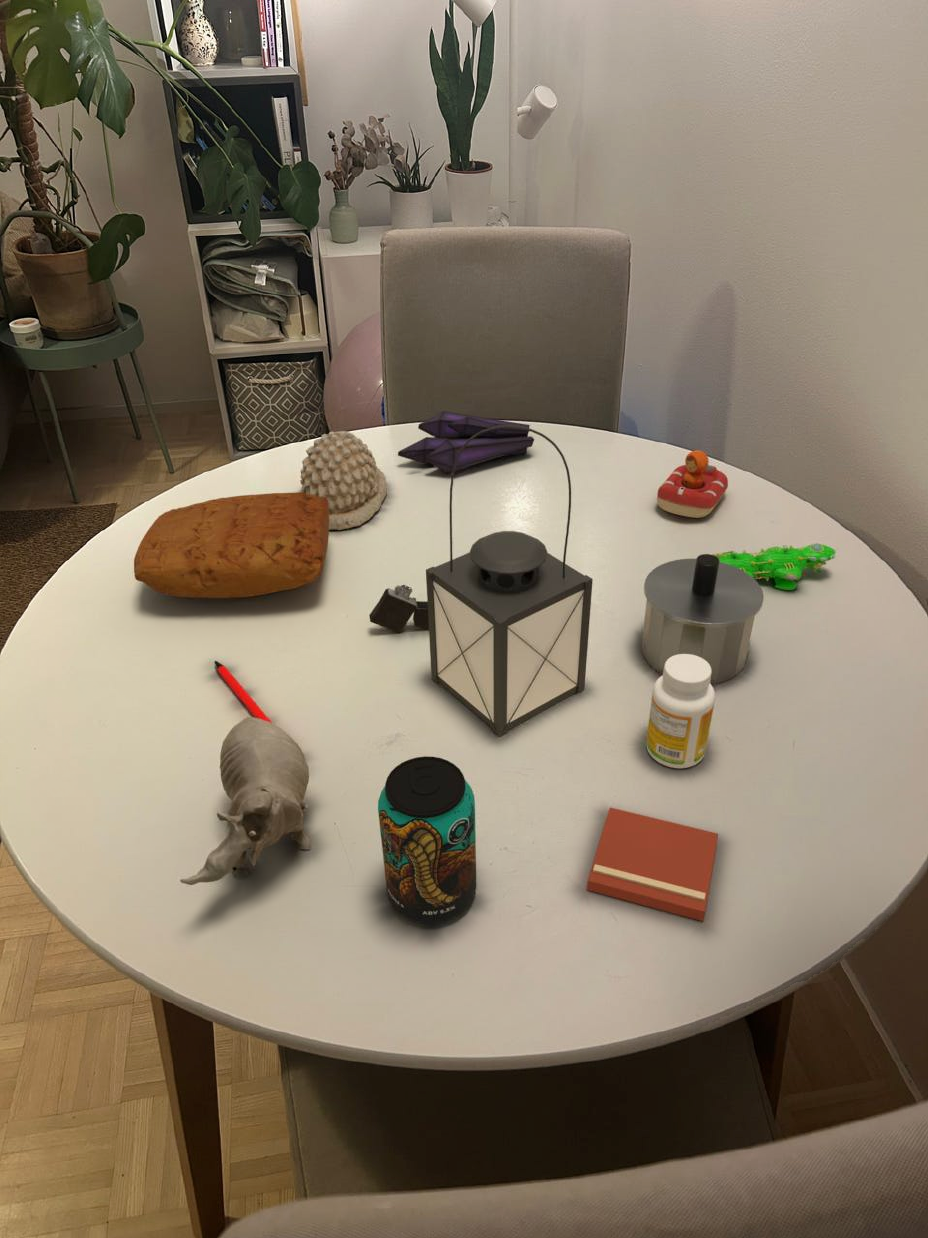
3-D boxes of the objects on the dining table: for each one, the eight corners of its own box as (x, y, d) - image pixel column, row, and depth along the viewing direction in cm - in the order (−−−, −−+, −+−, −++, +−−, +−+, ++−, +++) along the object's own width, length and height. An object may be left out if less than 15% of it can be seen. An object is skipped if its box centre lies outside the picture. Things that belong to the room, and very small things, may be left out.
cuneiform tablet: (343, 539, 116) (336, 482, 111) (324, 618, 102) (316, 557, 97) (170, 541, 116) (157, 484, 112) (129, 619, 103) (111, 559, 98)
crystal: (527, 398, 135) (393, 400, 132) (546, 438, 127) (404, 441, 123) (521, 440, 140) (391, 443, 136) (539, 481, 132) (402, 486, 128)
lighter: (431, 635, 103) (454, 601, 101) (433, 646, 101) (457, 612, 99) (368, 611, 100) (391, 575, 97) (370, 622, 98) (393, 585, 96)
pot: (750, 633, 98) (762, 574, 94) (739, 694, 90) (752, 633, 86) (651, 615, 101) (658, 557, 97) (633, 672, 93) (639, 613, 89)
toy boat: (647, 516, 119) (653, 463, 114) (677, 480, 127) (683, 429, 123) (704, 530, 116) (712, 476, 111) (730, 491, 124) (739, 440, 119)
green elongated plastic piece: (842, 587, 105) (851, 555, 102) (692, 604, 103) (697, 572, 100) (816, 557, 110) (823, 526, 108) (672, 572, 108) (676, 541, 106)
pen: (297, 770, 83) (295, 761, 82) (211, 666, 95) (209, 657, 95) (306, 766, 83) (304, 757, 82) (219, 662, 96) (217, 654, 95)
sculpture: (395, 473, 130) (390, 406, 125) (373, 533, 117) (367, 462, 111) (313, 470, 132) (305, 404, 126) (282, 529, 118) (271, 459, 112)
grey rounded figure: (333, 730, 83) (285, 691, 69) (333, 886, 79) (282, 879, 65) (250, 735, 84) (186, 698, 70) (246, 890, 80) (176, 884, 66)
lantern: (585, 690, 91) (606, 428, 75) (499, 738, 86) (500, 467, 69) (514, 637, 99) (518, 388, 82) (429, 679, 93) (416, 421, 77)
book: (716, 843, 75) (719, 831, 74) (703, 921, 69) (705, 909, 68) (608, 816, 78) (610, 804, 77) (586, 890, 72) (587, 878, 71)
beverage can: (391, 935, 69) (380, 828, 62) (383, 862, 74) (372, 756, 67) (483, 922, 70) (482, 814, 62) (468, 850, 75) (466, 744, 68)
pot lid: (766, 577, 94) (774, 539, 92) (755, 642, 86) (764, 602, 83) (654, 559, 98) (658, 522, 95) (633, 620, 89) (637, 580, 86)
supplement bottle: (689, 724, 87) (703, 643, 81) (715, 764, 82) (731, 681, 77) (636, 734, 86) (646, 653, 80) (659, 775, 82) (672, 692, 76)
